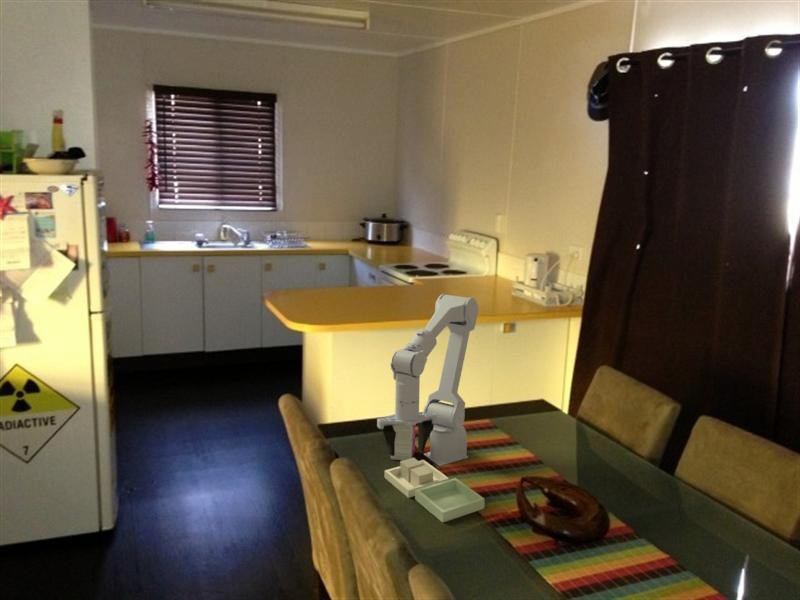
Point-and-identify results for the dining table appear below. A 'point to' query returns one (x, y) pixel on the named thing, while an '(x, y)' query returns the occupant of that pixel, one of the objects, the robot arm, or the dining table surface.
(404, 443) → the supplement box
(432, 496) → the tub
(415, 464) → the cream cube block
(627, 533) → the dining table surface
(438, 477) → the tray
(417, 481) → the ivory sharp-edged cube
